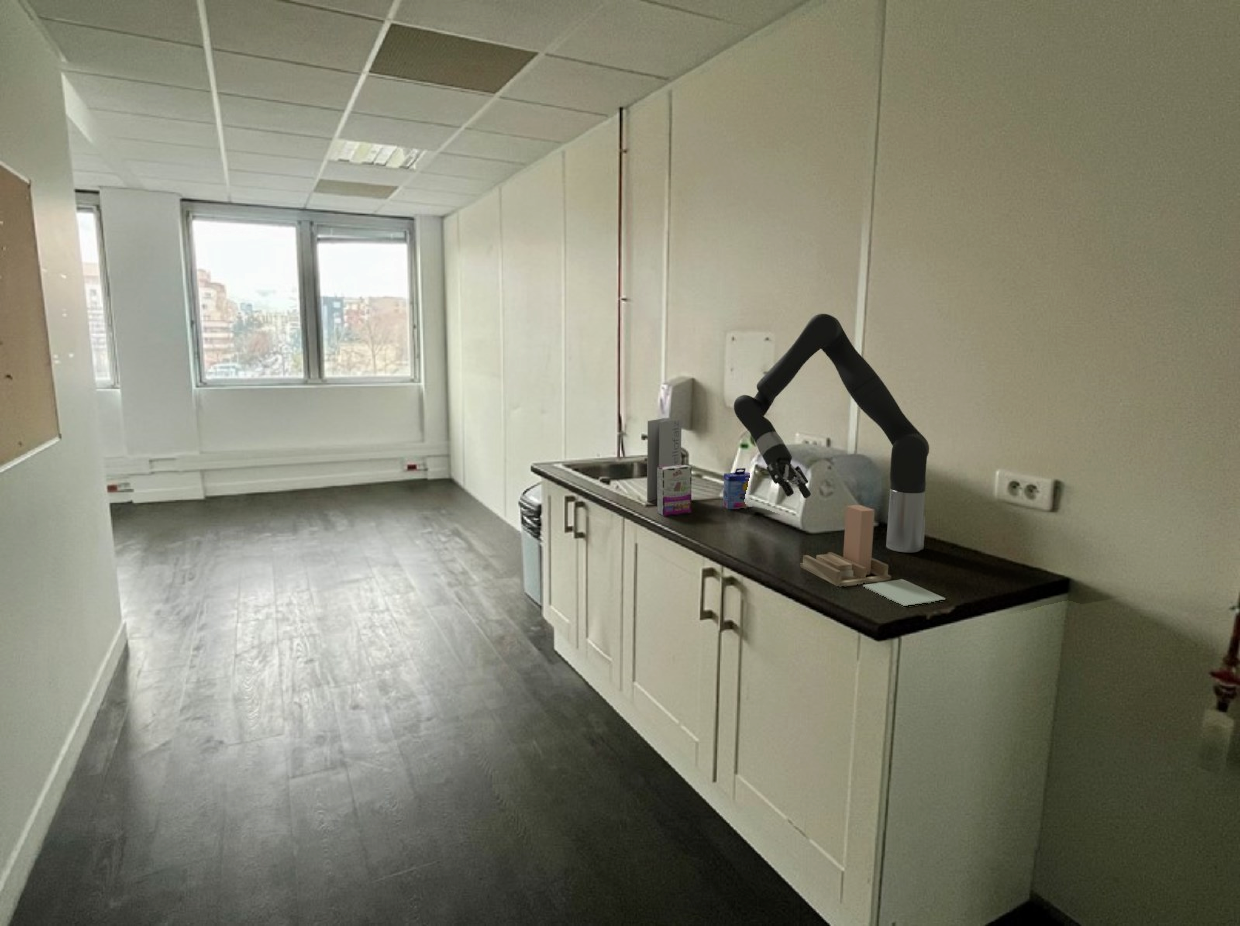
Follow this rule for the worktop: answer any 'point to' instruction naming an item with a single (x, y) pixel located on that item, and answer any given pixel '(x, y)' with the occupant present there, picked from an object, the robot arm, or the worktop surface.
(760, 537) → the worktop surface
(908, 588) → the sage mat
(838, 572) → the birch rack
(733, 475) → the ink cartridge box
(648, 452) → the grey lettered box
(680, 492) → the candy bar box
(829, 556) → the plywood offcut stack
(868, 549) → the peach upright pillar
